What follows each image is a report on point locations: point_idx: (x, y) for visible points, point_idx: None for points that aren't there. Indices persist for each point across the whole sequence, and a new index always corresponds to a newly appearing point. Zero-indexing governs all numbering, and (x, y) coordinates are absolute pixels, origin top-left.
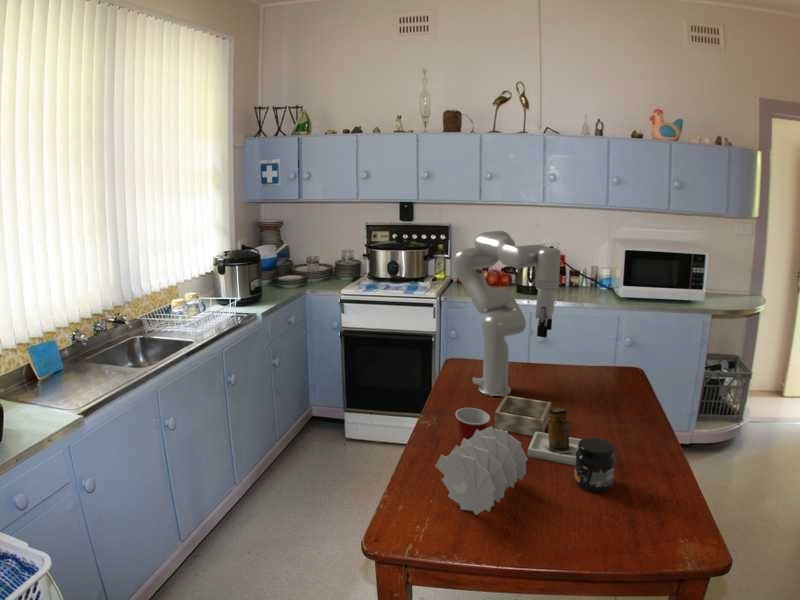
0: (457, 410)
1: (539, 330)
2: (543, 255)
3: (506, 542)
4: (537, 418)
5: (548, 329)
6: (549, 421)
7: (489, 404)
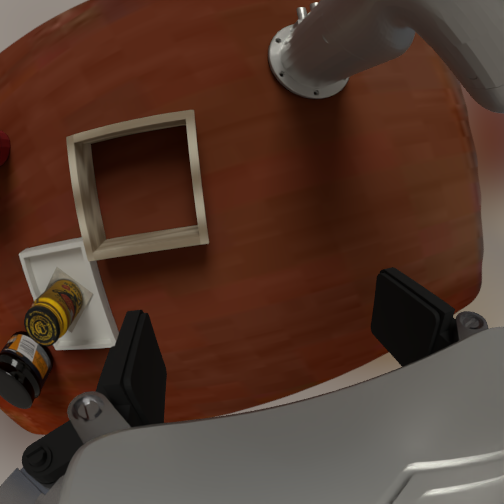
0: None
1: (104, 368)
2: None
3: None
4: (90, 245)
5: (373, 316)
6: (32, 303)
7: (216, 69)
